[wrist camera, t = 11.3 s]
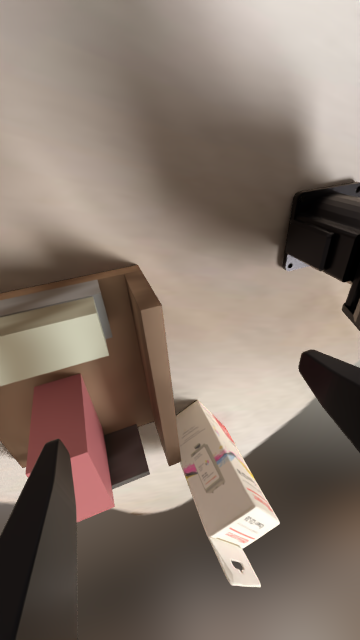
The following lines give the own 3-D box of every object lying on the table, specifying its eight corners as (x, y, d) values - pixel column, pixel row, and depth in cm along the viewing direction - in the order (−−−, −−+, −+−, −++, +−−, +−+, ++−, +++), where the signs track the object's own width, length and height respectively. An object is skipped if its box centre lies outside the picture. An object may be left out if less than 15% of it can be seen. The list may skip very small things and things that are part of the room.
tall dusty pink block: (80, 373, 22) (87, 451, 17) (103, 430, 27) (114, 506, 21) (34, 386, 21) (25, 474, 16) (66, 443, 26) (67, 526, 20)
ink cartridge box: (226, 425, 36) (304, 559, 25) (196, 446, 36) (259, 589, 25) (198, 397, 31) (280, 552, 19) (163, 422, 31) (223, 590, 20)
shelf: (137, 264, 20) (161, 305, 15) (162, 410, 30) (181, 461, 25) (-90, 312, 16) (-148, 382, 12) (23, 458, 26) (16, 527, 22)
